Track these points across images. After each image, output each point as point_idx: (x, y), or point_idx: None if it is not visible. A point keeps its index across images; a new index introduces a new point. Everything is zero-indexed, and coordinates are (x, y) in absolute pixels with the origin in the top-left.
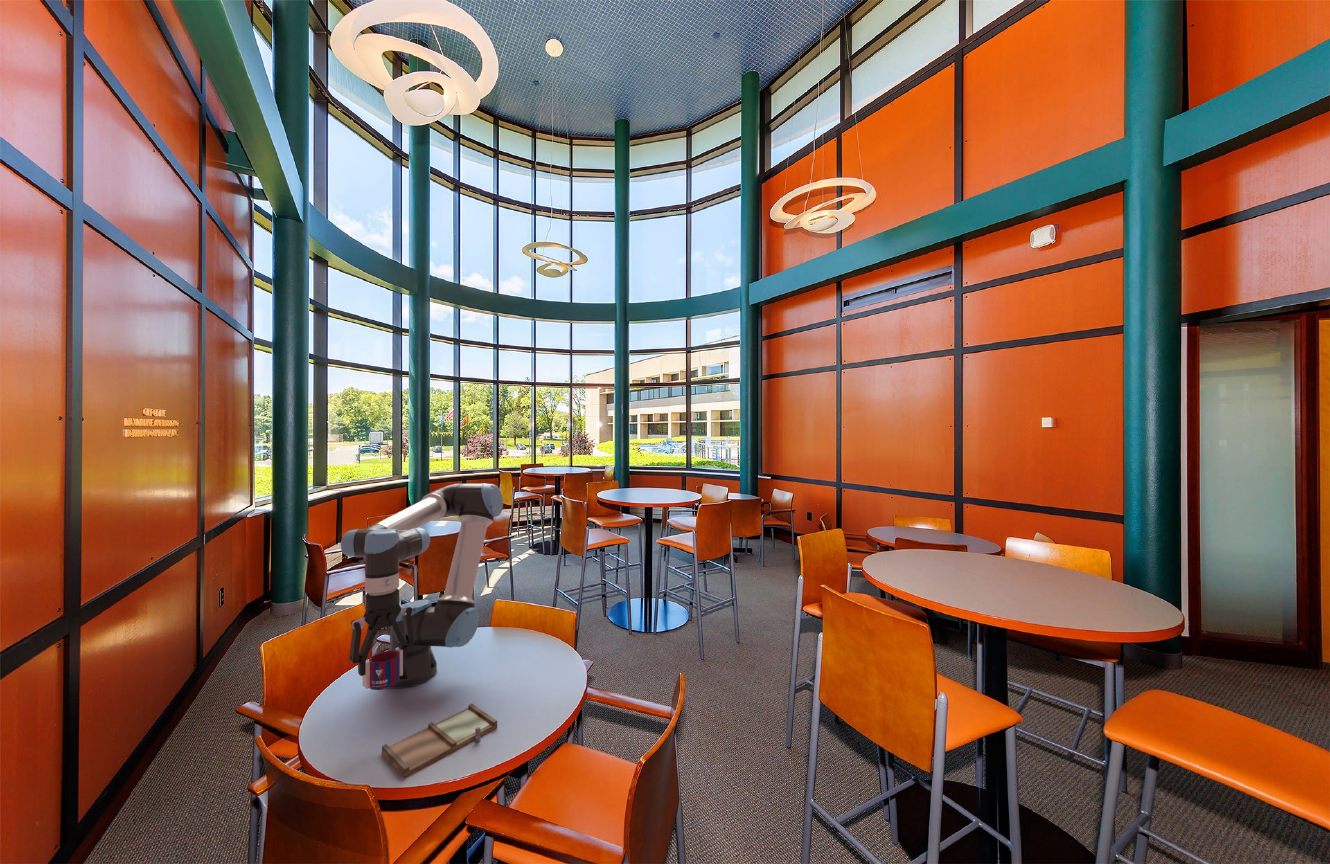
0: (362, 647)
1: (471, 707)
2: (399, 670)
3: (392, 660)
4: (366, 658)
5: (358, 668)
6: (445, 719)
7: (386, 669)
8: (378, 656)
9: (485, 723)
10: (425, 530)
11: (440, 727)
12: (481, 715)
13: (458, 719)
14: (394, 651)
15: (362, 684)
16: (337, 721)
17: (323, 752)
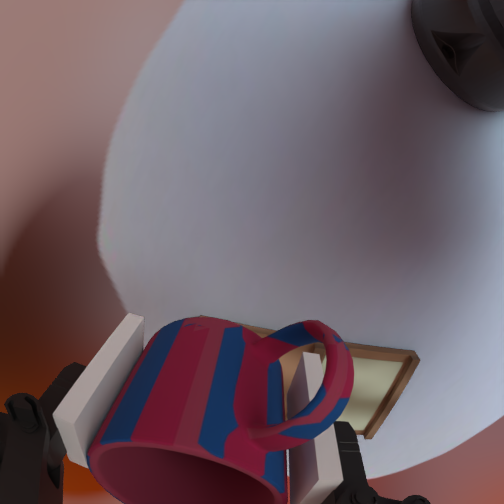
0: (6, 501)
1: (405, 371)
2: (289, 411)
3: None
4: (60, 478)
5: (51, 391)
6: (355, 351)
7: (172, 484)
8: (182, 431)
9: (364, 423)
10: None
11: (323, 368)
12: (384, 404)
13: (362, 376)
14: (275, 497)
15: (127, 314)
16: (224, 48)
17: (126, 173)
